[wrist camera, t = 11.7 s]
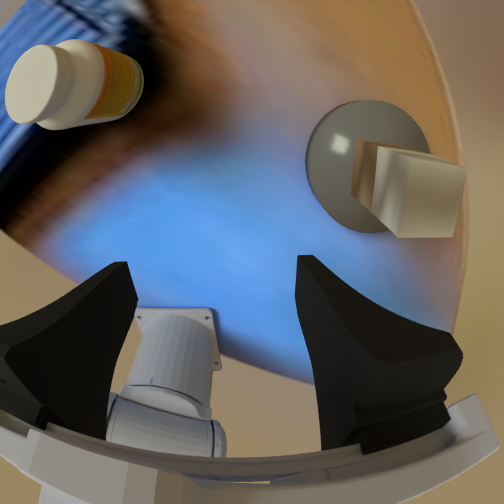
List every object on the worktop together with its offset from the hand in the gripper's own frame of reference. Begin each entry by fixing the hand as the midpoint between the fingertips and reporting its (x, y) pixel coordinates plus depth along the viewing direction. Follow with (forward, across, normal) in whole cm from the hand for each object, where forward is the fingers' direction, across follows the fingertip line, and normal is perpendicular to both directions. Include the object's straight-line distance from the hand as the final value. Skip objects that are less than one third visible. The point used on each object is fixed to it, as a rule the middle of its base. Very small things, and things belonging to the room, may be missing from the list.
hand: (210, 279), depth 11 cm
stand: (+10, -11, -3) cm, 15 cm away
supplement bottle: (+11, +8, -10) cm, 17 cm away
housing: (+8, -11, -3) cm, 14 cm away
